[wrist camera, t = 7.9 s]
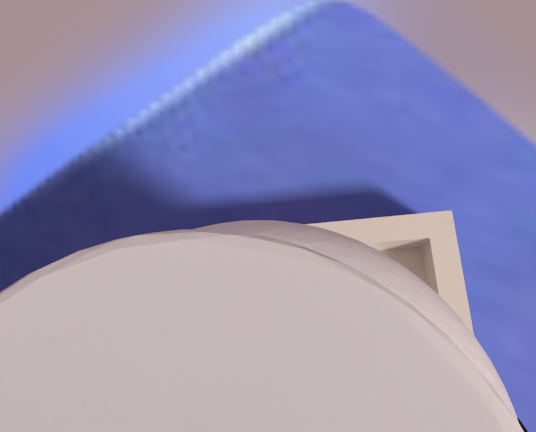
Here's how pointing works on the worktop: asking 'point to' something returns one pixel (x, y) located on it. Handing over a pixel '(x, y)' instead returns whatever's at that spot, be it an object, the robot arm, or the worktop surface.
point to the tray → (416, 250)
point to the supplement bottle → (240, 340)
